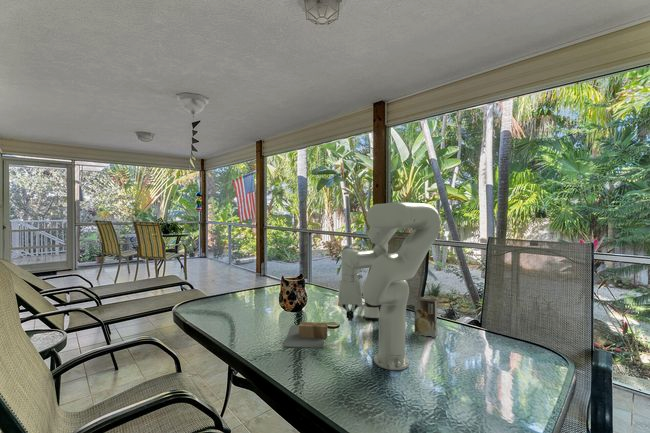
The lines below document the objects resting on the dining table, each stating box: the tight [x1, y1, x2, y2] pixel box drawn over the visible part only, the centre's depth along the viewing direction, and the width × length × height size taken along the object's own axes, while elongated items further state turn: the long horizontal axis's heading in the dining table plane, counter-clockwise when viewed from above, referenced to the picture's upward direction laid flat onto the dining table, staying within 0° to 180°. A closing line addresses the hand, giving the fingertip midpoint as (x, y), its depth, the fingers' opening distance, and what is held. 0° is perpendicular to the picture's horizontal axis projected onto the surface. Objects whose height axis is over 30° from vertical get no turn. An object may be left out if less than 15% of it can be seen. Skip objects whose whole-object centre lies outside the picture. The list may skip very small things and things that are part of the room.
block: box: [299, 321, 328, 339], centre depth 140 cm, size 5×5×12 cm
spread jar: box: [356, 300, 379, 321], centre depth 166 cm, size 12×11×12 cm
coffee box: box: [414, 296, 438, 338], centre depth 144 cm, size 9×6×16 cm
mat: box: [282, 324, 325, 349], centre depth 140 cm, size 24×16×1 cm, turn 177°
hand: (349, 319), depth 139 cm, fingers closed
